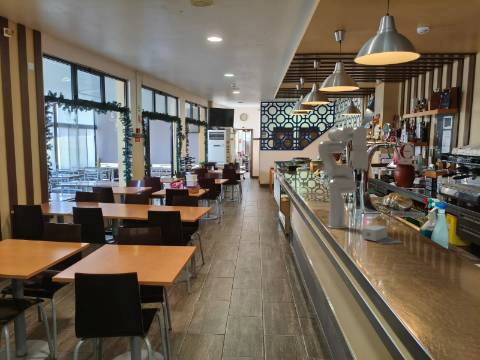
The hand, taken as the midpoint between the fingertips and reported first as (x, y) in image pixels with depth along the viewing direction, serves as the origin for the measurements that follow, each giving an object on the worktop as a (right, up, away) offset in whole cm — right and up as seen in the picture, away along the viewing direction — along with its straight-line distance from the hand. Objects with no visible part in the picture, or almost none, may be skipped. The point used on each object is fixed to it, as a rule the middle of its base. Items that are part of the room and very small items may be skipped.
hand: (358, 180), depth 214 cm
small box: (+4, -30, -6) cm, 31 cm away
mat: (+13, -34, -4) cm, 36 cm away
